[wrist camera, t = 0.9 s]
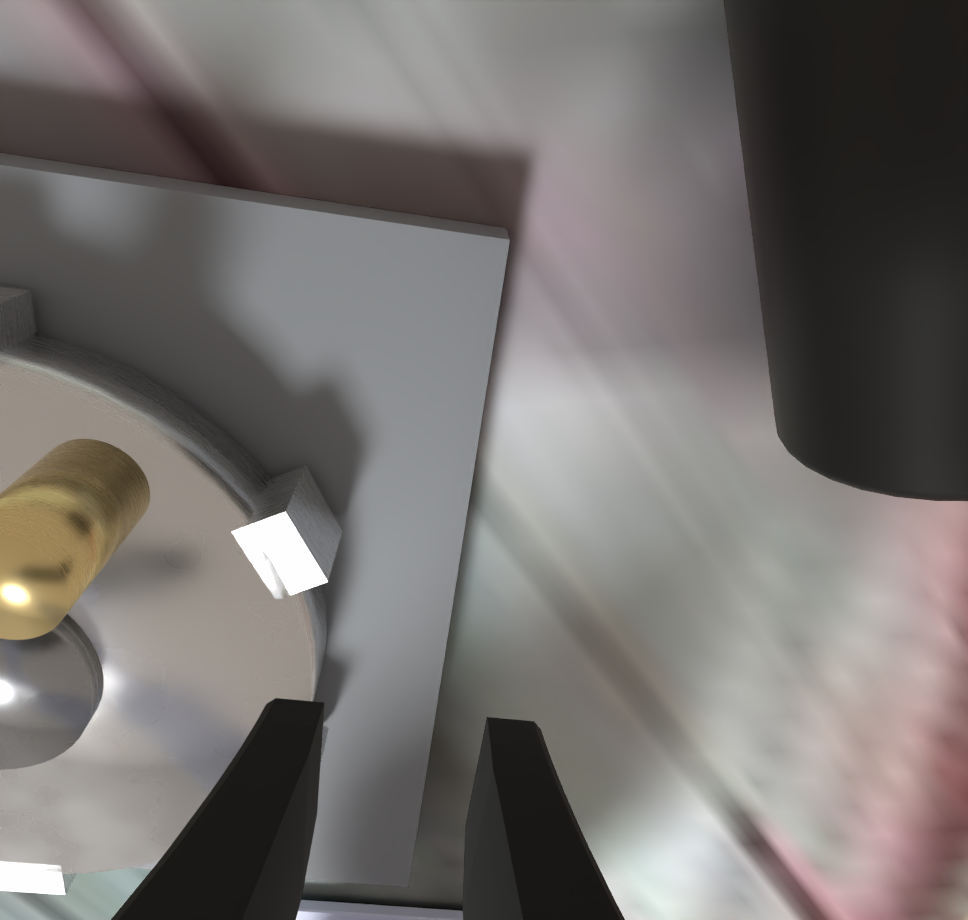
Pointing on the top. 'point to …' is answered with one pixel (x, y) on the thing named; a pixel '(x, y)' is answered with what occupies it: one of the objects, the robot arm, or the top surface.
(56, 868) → the lugged metal disc
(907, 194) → the electric motor
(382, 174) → the top surface
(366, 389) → the base plate
